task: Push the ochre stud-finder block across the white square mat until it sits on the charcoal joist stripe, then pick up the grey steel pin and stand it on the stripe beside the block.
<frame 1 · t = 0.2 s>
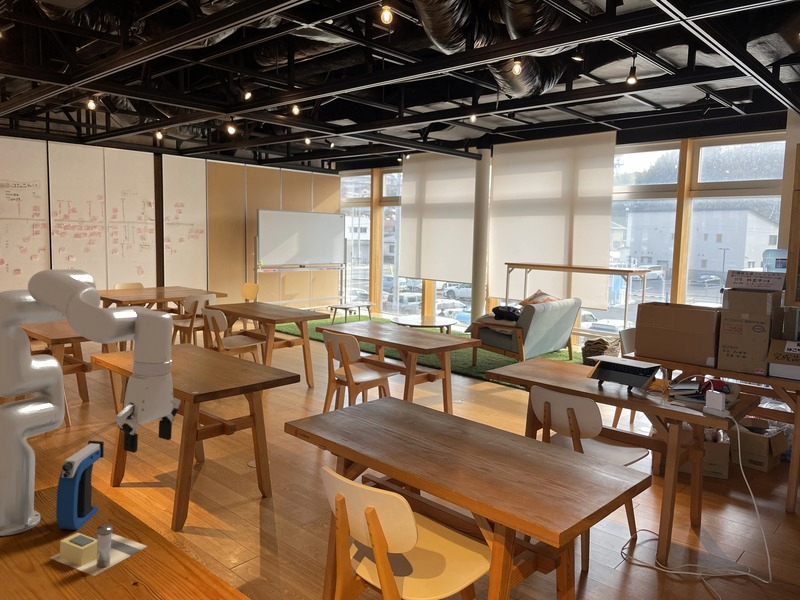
hand: (148, 444, 130), 31 cm above the table, fingers open, 9 cm apart
handheld scanner: (79, 524, 153), on the table
white square mat: (100, 555, 139), on the table
steel pin: (103, 564, 134), point 1 cm above the table, touching white square mat
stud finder: (79, 557, 136), point 1 cm above the table, touching white square mat
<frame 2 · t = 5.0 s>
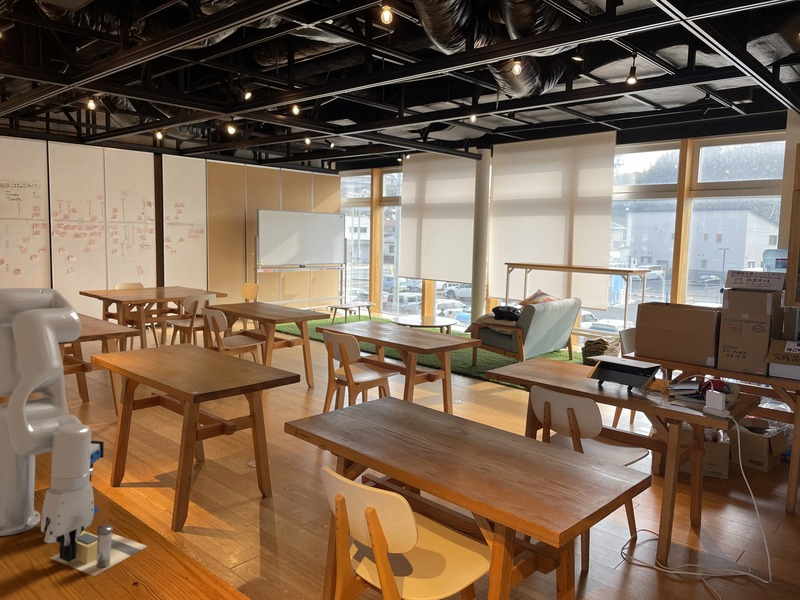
hand: (67, 558, 133), 2 cm above the table, fingers closed
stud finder: (84, 555, 137), point 1 cm above the table, touching gripper
everything else where it was.
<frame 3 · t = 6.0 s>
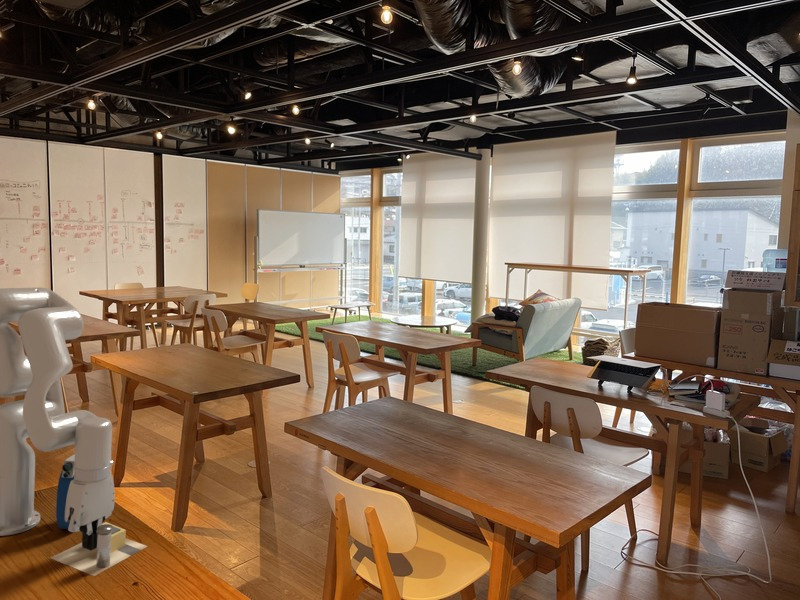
hand: (89, 547, 138), 2 cm above the table, fingers closed
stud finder: (107, 545, 142), point 1 cm above the table, touching gripper
everything else where it was.
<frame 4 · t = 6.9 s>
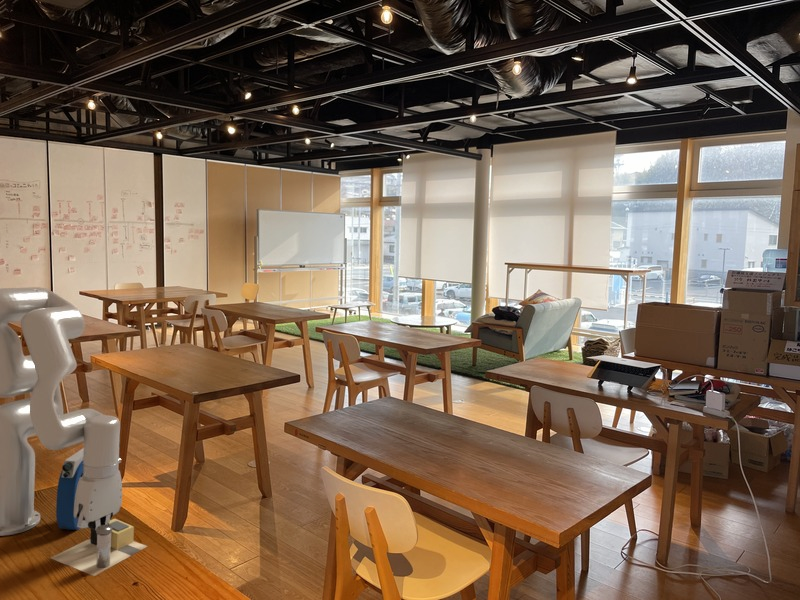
hand: (98, 543, 140), 2 cm above the table, fingers closed
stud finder: (115, 541, 144), point 1 cm above the table, touching gripper, white square mat
everything else where it was.
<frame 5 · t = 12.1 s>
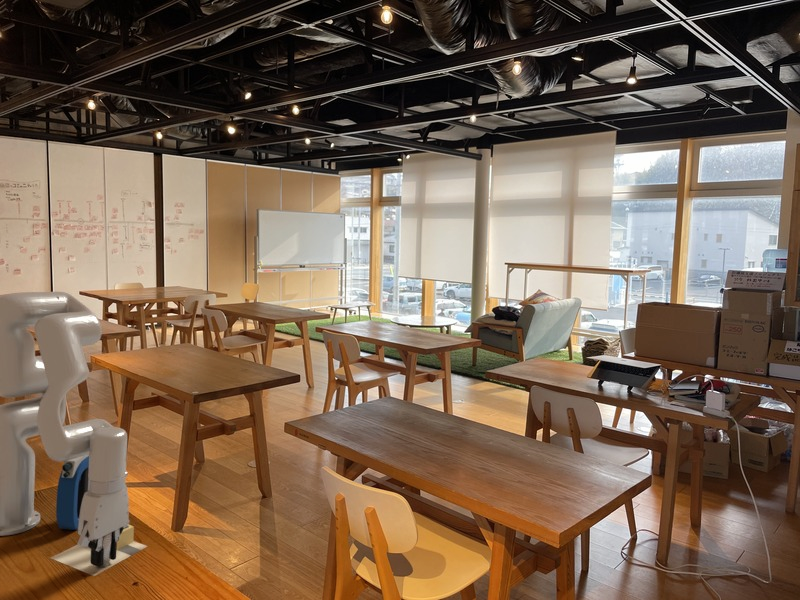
hand: (103, 560, 134), 2 cm above the table, fingers closed on steel pin, 2 cm apart
steel pin: (103, 564, 134), point 1 cm above the table, touching gripper, white square mat
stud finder: (115, 541, 144), point 1 cm above the table, touching white square mat
everything else where it was.
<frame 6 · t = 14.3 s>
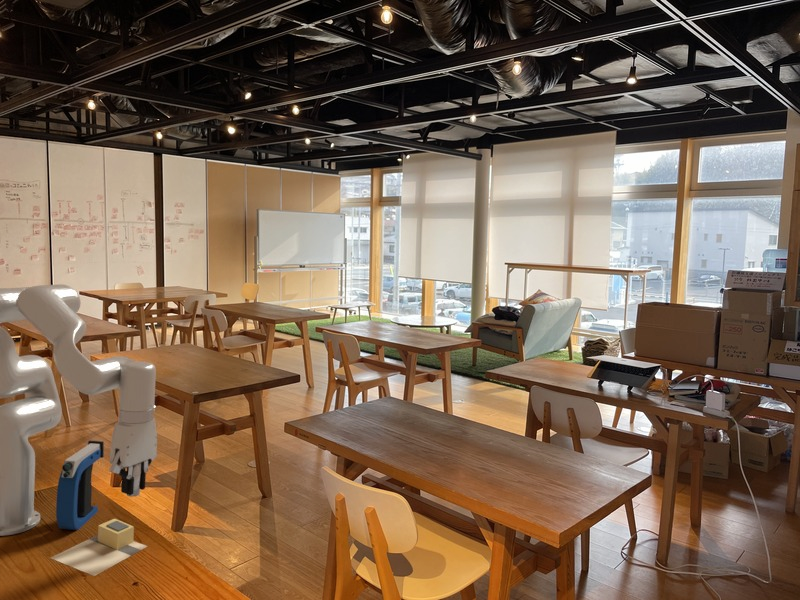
hand: (133, 490, 139), 16 cm above the table, fingers closed on steel pin, 2 cm apart
steel pin: (133, 494, 140), point 15 cm above the table, touching gripper
everything else where it was.
when the fingers open (3 cm above the table, at t = 16.8 s): steel pin stays where it is, resting on white square mat.
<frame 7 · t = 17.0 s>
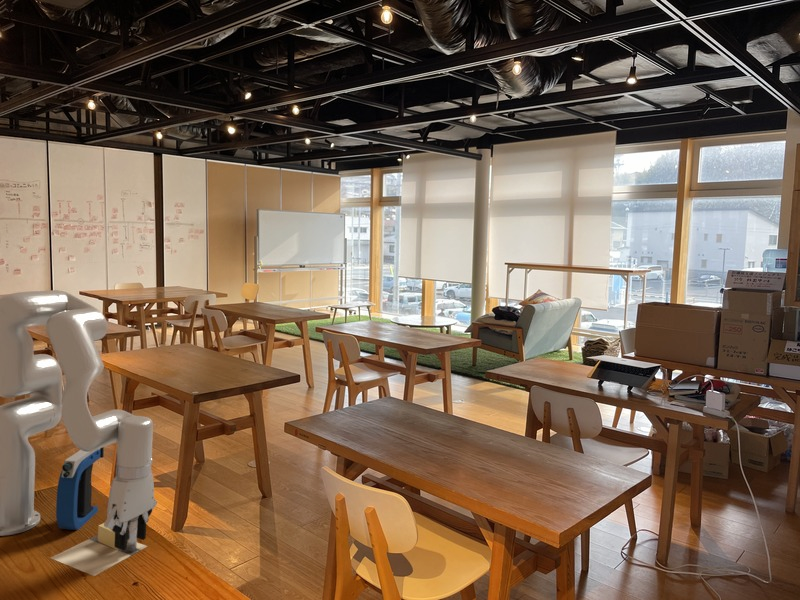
hand: (130, 542, 141), 3 cm above the table, fingers open, 4 cm apart
steel pin: (130, 549, 141), point 1 cm above the table, touching white square mat
everything else where it was.
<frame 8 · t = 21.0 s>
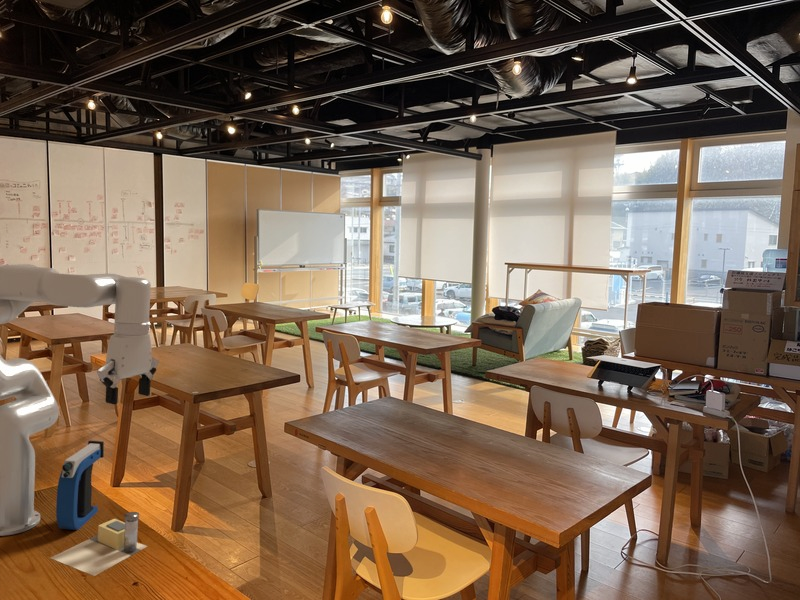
hand: (128, 398, 143), 36 cm above the table, fingers open, 9 cm apart
nothing on the table moved.
at the end: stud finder inside the target area (1.0 cm from its centre), point 1.0 cm above the table; steel pin 0.3 cm from the target spot, point 1.0 cm above the table; steel pin tilted 0° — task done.
